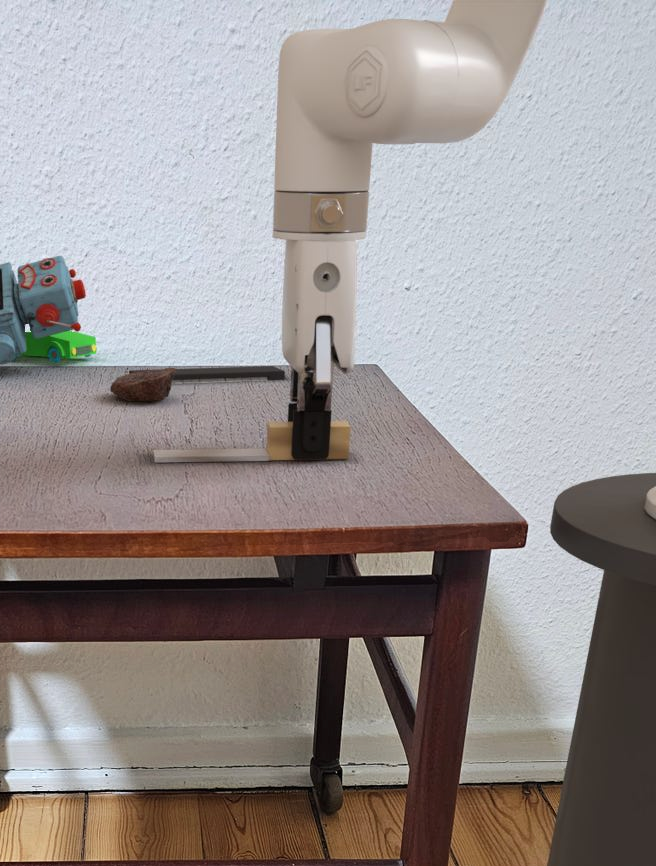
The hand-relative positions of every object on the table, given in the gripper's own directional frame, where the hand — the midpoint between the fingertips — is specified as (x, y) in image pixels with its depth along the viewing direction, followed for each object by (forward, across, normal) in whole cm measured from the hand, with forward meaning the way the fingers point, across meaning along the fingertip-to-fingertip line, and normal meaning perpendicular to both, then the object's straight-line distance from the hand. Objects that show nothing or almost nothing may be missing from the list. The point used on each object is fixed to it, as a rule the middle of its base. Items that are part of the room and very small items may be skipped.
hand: (307, 452), depth 104 cm
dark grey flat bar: (0, +37, +5) cm, 37 cm away
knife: (0, 0, +5) cm, 5 cm away
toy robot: (-1, +47, +49) cm, 67 cm away
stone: (0, +27, +14) cm, 30 cm away
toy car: (0, +54, +24) cm, 59 cm away
